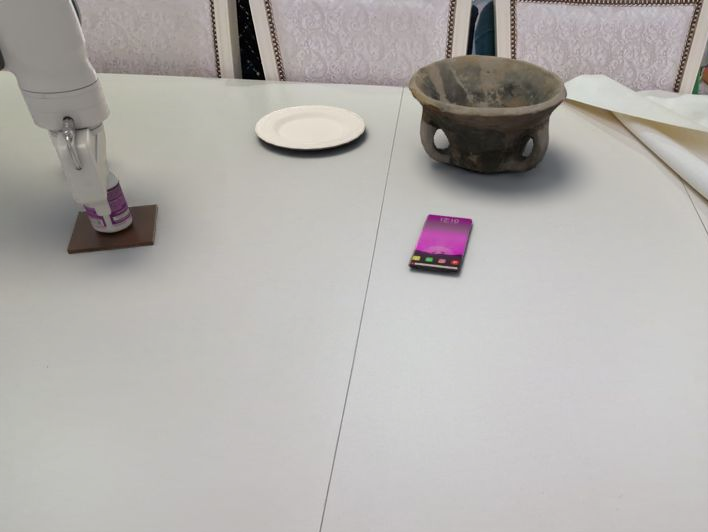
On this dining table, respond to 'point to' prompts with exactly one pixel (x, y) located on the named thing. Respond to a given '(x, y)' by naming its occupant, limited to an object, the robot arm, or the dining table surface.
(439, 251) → the smartphone
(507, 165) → the bowl
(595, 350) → the dining table surface
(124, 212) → the pill bottle
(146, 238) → the coaster
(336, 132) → the plate
